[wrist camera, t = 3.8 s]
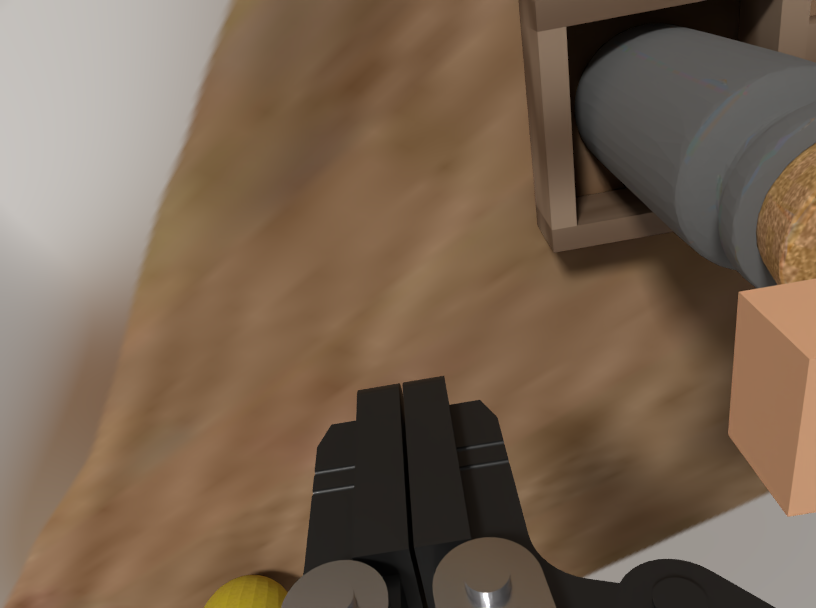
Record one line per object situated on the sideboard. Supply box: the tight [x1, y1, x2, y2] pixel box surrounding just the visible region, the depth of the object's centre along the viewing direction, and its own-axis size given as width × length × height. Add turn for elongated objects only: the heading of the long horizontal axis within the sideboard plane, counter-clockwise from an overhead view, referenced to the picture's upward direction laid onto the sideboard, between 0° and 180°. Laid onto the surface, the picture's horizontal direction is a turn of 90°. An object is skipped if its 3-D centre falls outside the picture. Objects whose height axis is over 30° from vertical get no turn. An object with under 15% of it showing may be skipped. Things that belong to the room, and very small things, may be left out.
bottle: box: [574, 23, 816, 289], centre depth 21 cm, size 6×6×15 cm
